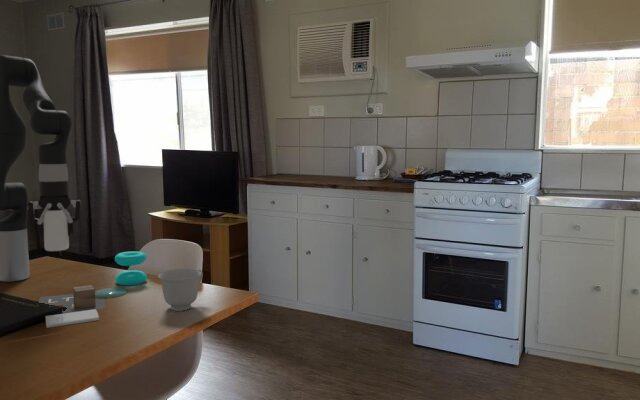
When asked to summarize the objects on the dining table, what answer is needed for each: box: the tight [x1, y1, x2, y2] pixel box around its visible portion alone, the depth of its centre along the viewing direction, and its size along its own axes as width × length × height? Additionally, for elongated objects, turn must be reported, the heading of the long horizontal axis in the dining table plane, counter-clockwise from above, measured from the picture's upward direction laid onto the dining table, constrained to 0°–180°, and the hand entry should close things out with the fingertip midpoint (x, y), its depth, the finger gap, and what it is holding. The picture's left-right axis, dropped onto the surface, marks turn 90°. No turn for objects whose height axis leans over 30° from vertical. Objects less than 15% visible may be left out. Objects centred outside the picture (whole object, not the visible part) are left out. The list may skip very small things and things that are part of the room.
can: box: [43, 210, 70, 252], centre depth 151 cm, size 6×6×12 cm
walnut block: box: [72, 284, 96, 309], centre depth 149 cm, size 5×5×5 cm
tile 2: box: [61, 298, 106, 314], centre depth 149 cm, size 11×11×1 cm
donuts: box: [114, 250, 148, 286], centre depth 174 cm, size 10×10×10 cm
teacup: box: [157, 268, 204, 312], centre depth 148 cm, size 12×15×10 cm
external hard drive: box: [45, 309, 100, 328], centre depth 137 cm, size 2×8×12 cm
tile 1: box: [38, 293, 74, 307], centre depth 153 cm, size 11×11×1 cm
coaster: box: [95, 287, 128, 299], centre depth 161 cm, size 10×10×1 cm
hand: (56, 235), depth 151 cm, fingers closed on can, 6 cm apart
